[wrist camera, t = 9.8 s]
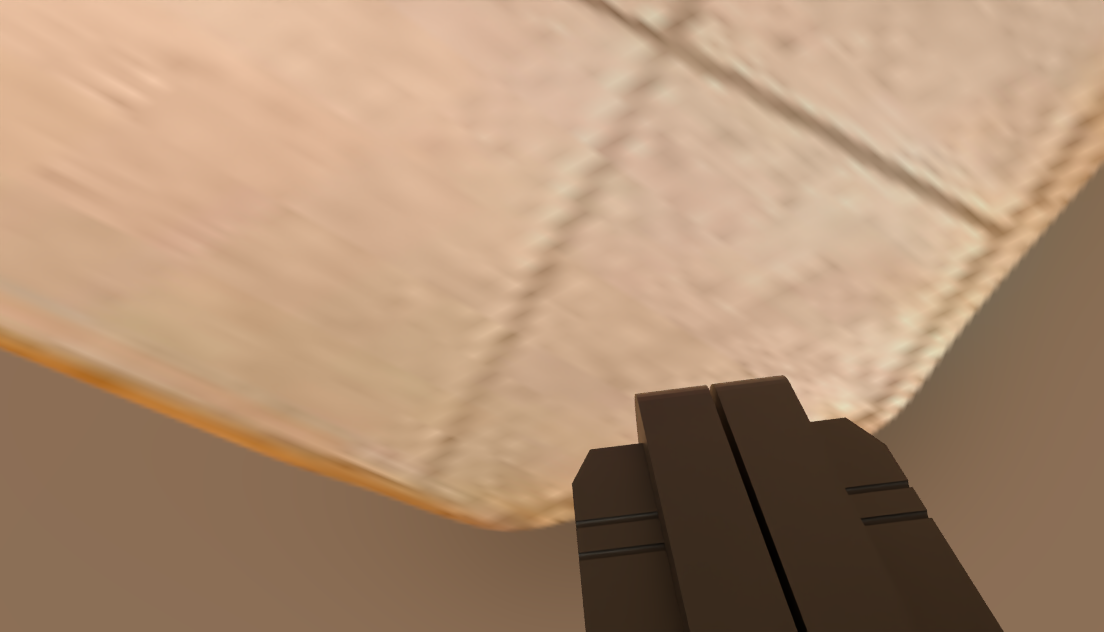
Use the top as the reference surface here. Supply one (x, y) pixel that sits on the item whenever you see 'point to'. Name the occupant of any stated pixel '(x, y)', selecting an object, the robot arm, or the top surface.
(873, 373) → the top surface
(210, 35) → the top surface
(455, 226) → the top surface
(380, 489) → the top surface
